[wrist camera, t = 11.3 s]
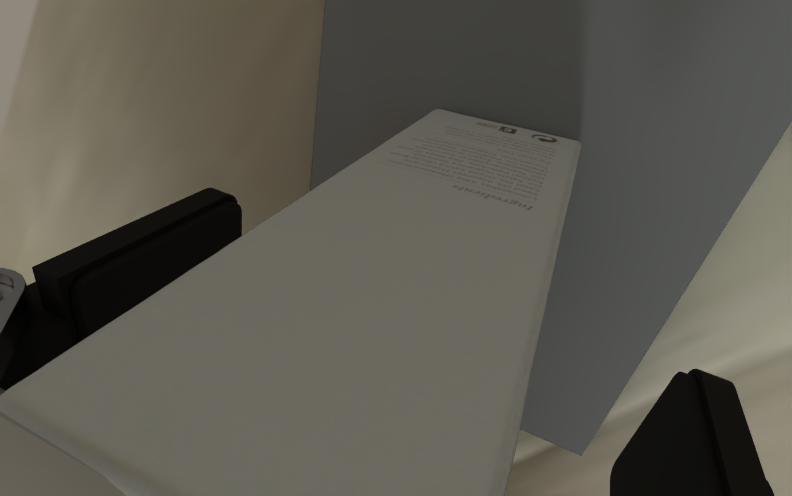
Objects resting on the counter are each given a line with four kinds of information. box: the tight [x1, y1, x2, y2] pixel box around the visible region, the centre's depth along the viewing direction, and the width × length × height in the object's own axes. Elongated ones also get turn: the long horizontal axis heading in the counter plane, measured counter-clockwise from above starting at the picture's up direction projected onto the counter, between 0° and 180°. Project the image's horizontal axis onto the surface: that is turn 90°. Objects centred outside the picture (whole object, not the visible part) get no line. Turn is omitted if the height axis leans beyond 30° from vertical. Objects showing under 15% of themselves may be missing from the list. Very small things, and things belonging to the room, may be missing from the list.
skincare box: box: [0, 109, 581, 496], centre depth 9 cm, size 6×4×12 cm
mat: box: [310, 0, 792, 455], centre depth 14 cm, size 16×12×1 cm
